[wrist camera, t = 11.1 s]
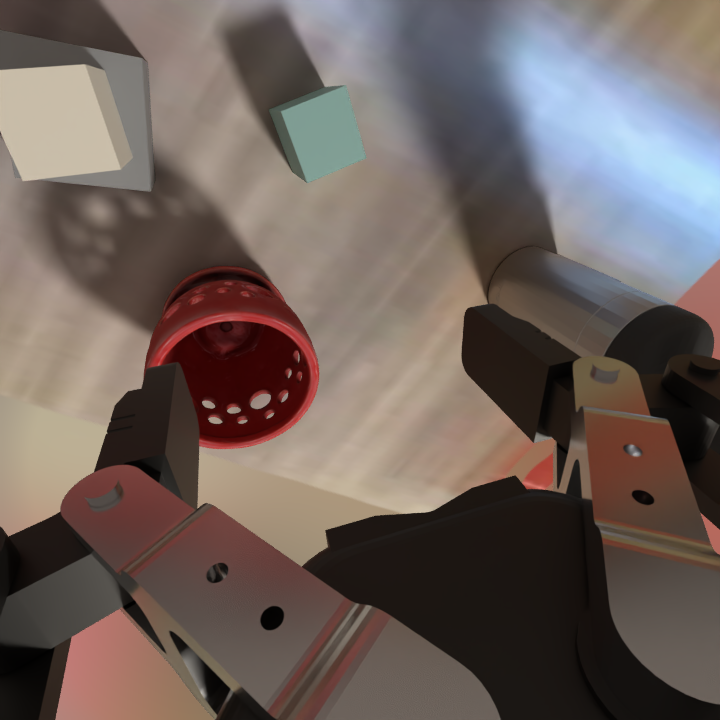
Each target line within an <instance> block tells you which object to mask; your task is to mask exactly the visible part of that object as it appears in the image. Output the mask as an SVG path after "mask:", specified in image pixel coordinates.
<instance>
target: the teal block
mask: <svg viewBox="0 0 720 720" xmlns="http://www.w3.org/2000/svg"><path fill="white" fill-rule="evenodd" d="M269 112H270V115H271V117H272V120H273V122H274V125H275V128H276V130H277V133H278V136H279V138H280V141H281V143H282V146H283V149H284V151H285V154H286V156H287V159H288V162H289V164H290V167H291V169H292V172H293V173H294V174H296V175H297V176H298V177H300V178H301V179H302V180H304V181H305V182H307V183H309V182H311V181H314V180H316V179H318V178H321V177H323V176H325V175H328V174H330V173H333V172H335V171H337V170H340V169H342V168H344V167H347V166H349V165H351V164H354V163H356V162H359V161H361V160H363V159H366V155H365V151H364V148H363V144H362V140H361V137H360V133H359V130H358V126H357V123H356V119H355V116H354V112H353V108H352V105H351V101H350V98H349V94H348V91H347V87H346V85H343V86H331V87H324V88H321V89H319V90H316V91H314V92H311V93H309V94H306V95H304V96H301V97H299V98H296V99H294V100H291V101H289V102H286V103H284V104H281V105H279V106H276V107H274V108H271V109H269Z"/></svg>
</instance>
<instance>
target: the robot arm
mask: <svg viewBox="0 0 720 720" xmlns="http://www.w3.org/2000/svg"><path fill="white" fill-rule="evenodd" d="M488 300H489V304H486V305H481V306H475V307H470V308H468V309H467V310H466V312H465V315H464V327H463V341H462V363H463V366H464V369H465V371H466V373H467V374H468V375H469V376H470V377H471V379H472V380H473V381H474V382H475V383H476V384H477V385H478V386H479V387H480V388H481V389H482V390H483V391H484V392H485V393H486V394H487V395H488V396H489V397H490V398H491V399H492V400H493V401H494V402H495V403H496V404H497V405H498V406H499V407H500V409H501V410H502V411H503V412H504V413H505V414H506V415H507V416H508V417H509V418H510V419H511V420H512V421H513V422H514V423H515V424H516V425H517V426H518V427H519V428H520V429H521V430H522V431H523V432H524V433H525V434H526V435H527V436H528V437H529V438H530V440H531V441H532V442H533V443H536V442H540V441H543V440H547V439H551V438H553V439H554V440H555V446H554V450H553V491H549V490H540V489H526V488H525V486H524V485H523V484H522V483H521V482H520V480H519V479H518V478H517V477H516V476H512V477H508V478H505V479H501V480H498V481H494V482H491V483H487V484H484V485H480V486H477V487H473V488H471V489H469V490H468V491H466V492H464V493H463V494H461V495H459V496H458V497H456V498H454V499H453V500H451V501H449V502H448V503H446V504H444V505H442V506H441V507H439V508H437V509H436V510H434V511H431V512H426V513H411V514H396V515H380V516H374V517H370V518H366V519H363V520H360V521H356V522H353V523H349V524H346V525H342V526H339V527H335V528H332V529H328V530H326V537H327V544H328V548H326V549H324V550H323V551H321V552H319V553H318V554H317V555H315V556H314V557H313V558H311V559H310V560H309V561H307V563H305V564H304V565H303V566H302V567H301V566H300V565H298V564H297V563H295V562H294V561H292V560H291V559H290V558H288V557H287V556H285V555H284V554H282V553H281V552H280V551H278V550H277V549H275V548H274V547H273V546H271V545H270V544H268V543H267V542H265V541H264V540H262V539H261V538H260V537H258V536H256V535H255V534H254V533H253V532H251V531H249V530H248V529H247V528H245V527H244V526H242V525H241V524H240V523H238V522H237V521H235V520H234V519H233V518H231V517H230V516H228V515H227V514H225V513H224V512H223V511H221V510H220V509H218V508H217V507H215V506H214V505H211V504H208V503H205V504H203V505H202V506H200V507H199V508H198V509H197V500H198V466H199V424H198V419H197V414H196V411H195V408H194V404H193V401H192V398H191V395H190V392H189V389H188V386H187V383H186V379H185V376H184V373H183V370H182V367H181V365H180V364H179V362H176V363H170V364H165V365H160V366H154V367H149V368H147V369H146V373H145V377H144V381H143V385H142V389H137V390H132V391H128V392H127V393H126V394H125V395H124V396H123V397H122V398H121V400H120V401H119V402H118V403H117V404H116V405H115V407H114V410H113V414H112V417H111V422H110V423H109V426H108V429H107V434H106V436H105V439H104V442H103V445H102V448H101V452H100V455H99V458H98V461H97V464H96V468H95V471H94V473H92V474H90V475H88V476H86V477H85V478H83V479H82V480H81V481H79V482H78V483H77V484H76V485H74V486H73V487H72V488H71V489H70V490H69V492H68V493H67V494H66V495H65V497H64V499H63V501H62V504H61V512H59V513H57V514H56V515H54V516H52V517H50V518H48V519H46V520H44V521H42V522H40V523H37V524H35V525H33V526H31V527H28V528H26V529H24V530H22V531H20V532H18V533H15V534H13V535H11V536H9V537H8V535H7V534H6V533H5V531H4V530H3V529H2V528H1V527H0V720H55V718H56V713H57V708H58V703H59V698H60V693H61V688H62V683H63V678H64V672H65V667H66V662H67V657H68V652H69V647H70V642H71V637H72V636H74V635H76V634H77V633H79V632H80V631H82V630H84V629H85V628H87V627H89V626H91V625H92V624H94V623H96V622H98V621H99V620H101V619H103V618H104V617H106V616H108V615H110V614H111V613H113V612H115V611H116V610H118V609H120V610H121V611H122V612H123V614H124V615H125V616H126V617H127V618H128V619H129V620H130V621H131V622H132V623H133V625H134V626H135V627H136V628H137V629H138V630H139V631H140V632H141V633H142V634H143V636H144V637H146V639H147V640H148V641H149V642H150V643H151V644H152V645H153V647H154V648H155V649H156V650H157V651H158V652H159V653H160V654H161V655H162V656H163V657H164V659H166V661H167V662H168V663H169V664H170V665H171V666H172V668H173V669H174V670H175V671H176V673H177V674H178V675H179V677H180V678H181V679H182V681H183V682H184V683H185V685H186V686H187V688H188V689H189V690H190V692H191V693H192V694H193V695H194V697H195V698H196V699H197V700H198V701H199V703H200V704H201V705H202V706H203V707H204V708H205V710H206V711H207V712H208V713H209V714H210V715H211V716H212V717H213V718H214V719H215V720H720V555H719V554H717V553H716V552H715V551H714V549H713V547H712V545H711V543H710V540H709V537H708V534H707V531H706V528H705V525H704V522H703V519H702V516H701V514H700V513H702V514H703V515H704V516H705V517H706V518H707V519H708V520H710V521H711V522H712V523H713V524H714V525H715V526H716V527H717V528H719V529H720V360H717V359H714V358H712V353H713V348H714V337H713V332H712V329H711V327H710V326H709V324H708V323H707V322H706V321H705V320H703V319H702V318H701V317H699V316H697V315H696V314H693V313H691V312H689V311H686V310H684V309H682V308H680V307H677V306H675V305H673V304H670V303H668V302H666V301H663V300H661V299H659V298H656V297H654V296H652V295H649V294H647V293H644V292H642V291H640V290H637V289H635V288H633V287H630V286H628V285H626V284H624V283H621V282H620V281H619V280H617V279H615V278H613V277H610V276H608V275H606V274H603V273H601V272H599V271H596V270H594V269H592V268H589V267H587V266H585V265H582V264H580V263H578V262H575V261H573V260H571V259H568V258H566V257H564V256H561V255H559V254H554V253H552V252H550V251H547V250H545V249H542V248H540V247H533V246H532V247H525V248H523V249H520V250H517V251H516V252H514V253H513V254H511V255H510V256H508V257H507V258H506V259H505V260H504V261H503V262H502V263H501V265H500V266H499V267H498V268H497V270H496V272H495V273H494V275H493V277H492V280H491V282H490V286H489V291H488Z"/></svg>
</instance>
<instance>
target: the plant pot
mask: <svg viewBox="0 0 720 720" xmlns="http://www.w3.org/2000/svg"><path fill="white" fill-rule="evenodd" d="M298 354H299V355H300V361H299V363H298ZM176 362H179V364H180V365H181V367H182V370H183V373H184V376H185V379H186V383H187V386H188V389H189V392H190V395H191V398H192V401H193V404H194V408H195V411H196V414H197V419H198V424H199V446H202V447H206V448H214V449H234V448H244V447H249V446H253V445H257V444H260V443H263V442H265V441H268V440H270V439H272V438H275V437H276V436H278V435H280V434H282V433H283V432H285V431H286V430H288V429H289V428H291V427H292V426H293V425H294V424H295V423H297V422H298V421H299V420H300V419H301V417H302V416H303V415H304V414H305V412H306V411H307V410H308V408H309V407H310V405H311V403H312V401H313V399H314V397H315V395H316V392H317V388H318V382H319V365H318V360H317V357H316V353H315V350H314V348H313V345H312V342H311V340H310V338H309V336H308V334H307V332H306V330H305V328H304V326H303V324H302V323H301V321H300V320H299V318H298V317H297V315H296V314H295V313H294V312H293V311H292V309H291V308H290V307H289V306H288V305H287V304H286V302H285V300H284V298H283V296H282V295H281V293H280V292H279V291H278V289H277V288H276V287H275V286H274V285H273V284H272V283H271V282H270V281H268V280H267V279H266V278H264V277H263V276H261V275H260V274H258V273H256V272H254V271H251V270H249V269H245V268H241V267H234V266H217V267H211V268H207V269H203V270H200V271H198V272H195V273H193V274H191V275H190V276H188V277H186V278H185V279H184V280H182V281H181V282H180V283H179V284H178V285H177V286H176V287H175V288H174V289H173V291H172V292H171V293H170V295H169V297H168V299H167V301H166V303H165V305H164V308H163V313H162V317H161V319H160V320H159V322H158V324H157V326H156V328H155V330H154V332H153V335H152V338H151V341H150V346H149V349H148V352H147V356H146V362H145V369H144V377H145V373H146V369H147V368H149V367H154V366H160V365H165V364H170V363H176ZM290 370H292V374H291V376H290V378H289V379H288V374H289V371H290ZM301 375H302V378H301ZM300 379H301V381H300ZM286 393H288V398H287V399H286V400H285V401H284V402H282V403H281V401H282V398H283V397H284V395H285V394H286ZM261 394H270V395H271V400H270V402H269V403H268V404H267V405H266V406H265V407H263V408H261V409H254V408H252V407H251V406H250V404H251V401H252V400H253V399H254V398H255V397H257V396H258V395H261ZM202 401H210V402H212V403H214V405H215V408H213V409H210V408H206V407H204V406H203V405H202ZM231 407H238V408H240V409H241V411H240V412H239V413H235V414H230V413H228V412H227V410H228V409H229V408H231ZM271 413H274V415H273V416H272V417H271V418H268V419H266V418H267V416H268V415H269V414H271ZM210 417H217V418H219V419H221V420H222V423H221V424H213V423H211V422H209V420H208V418H210ZM241 420H248V421H247V422H246V423H244V424H239V423H238V422H239V421H241Z"/></svg>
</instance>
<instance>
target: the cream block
mask: <svg viewBox="0 0 720 720" xmlns="http://www.w3.org/2000/svg"><path fill="white" fill-rule="evenodd" d="M0 132H1V134H2V137H3V139H4V141H5V143H6V145H7V147H8V150H9V152H10V154H11V156H12V158H13V160H14V163H15V165H16V167H17V169H18V171H19V174H20V176H21V178H22V180H23V181H29V180H37V179H46V178H54V177H63V176H71V175H79V174H88V173H96V172H105V171H113V170H121V169H122V168H123V167H124V166H125V165H126V164H127V163H128V162H129V161H130V160H131V159H132V158H133V156H132V153H131V150H130V147H129V144H128V141H127V138H126V135H125V131H124V128H123V125H122V122H121V119H120V116H119V113H118V110H117V107H116V104H115V101H114V97H113V94H112V91H111V88H110V85H109V82H108V79H107V76H106V73H105V70H102V69H99V68H95V67H92V66H89V65H86V64H82V65H67V66H52V67H37V68H23V69H8V70H0Z"/></svg>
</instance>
